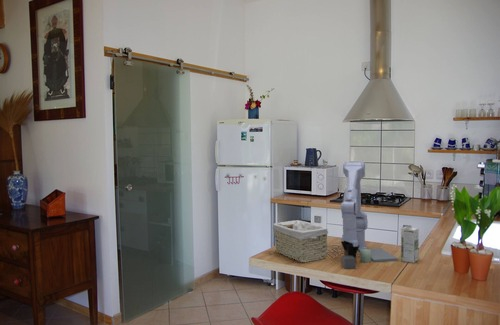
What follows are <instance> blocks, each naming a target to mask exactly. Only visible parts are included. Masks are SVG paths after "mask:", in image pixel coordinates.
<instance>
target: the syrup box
mask: <svg viewBox="0 0 500 325" xmlns="http://www.w3.org/2000/svg"><path fill="white" fill-rule="evenodd" d="M400 230H401V233H400V234H401V237H400V238H401V240H400V241H401V242H400V247H401V250H400V254H401V255H400V260H401V262H406V263H413V264H415V263H416V262H417V261H419V244H420V243H419V241H420V240H419V238H420V237H419V227H415V226H404V227H403V228H401V229H400Z"/></svg>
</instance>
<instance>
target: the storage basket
mask: <svg viewBox="0 0 500 325" xmlns="http://www.w3.org/2000/svg"><path fill="white" fill-rule="evenodd" d="M290 227H292V228H290ZM272 229H273V234H274V240H275V241H274V242H275V249H276V250H275V251H276V253H278V252H279V253H278V254H280V253H281V254H280V255H282V254H283V255H282V256H285V257H287V256H288V257H287V258H289V259H291V258H293V259H292V260H294V259H295V260H294V261H297V262H298V263H299V262H300V263H302V262H305V263H310V262H315V261H320V260H324V259H326V258H327V246H328V234H329V230H328V228H327V227H325V226H322V225H320V224H315V223H312V222H308V221H304V220H299V219H296V220H290V221H289V220H287V221H281V222H280V221H279V222H275V223H273V225H272ZM314 260H315V261H314ZM309 261H310V262H309Z"/></svg>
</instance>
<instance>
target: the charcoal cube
mask: <svg viewBox="0 0 500 325" xmlns="http://www.w3.org/2000/svg"><path fill="white" fill-rule="evenodd" d="M341 258H342V260H341V261H342V262H341V264H342V268H344V270H356V263H355V258H354V257H353V256H344V255H342V256H341Z"/></svg>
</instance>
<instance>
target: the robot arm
mask: <svg viewBox="0 0 500 325" xmlns="http://www.w3.org/2000/svg"><path fill="white" fill-rule="evenodd" d="M342 173H343V174H344V176H345V177H346V178H347V187H345V189H344V192H343V201H342V202H341V204H340V205H341V206H340V210H341V219H342V236H341V238H340V243H341V246H342V247H343V251H344V250H348V255H349V256H353V257H354V258H355V257H356V258H357V252H358V251H359V249H369V247H368V246H366V236H365V231H366V230H367V229H368V225H369V224H368V223H369V222H368V215H367V213H366V212H365V211H363V210H362V203H361V202H362V197H361V196H362V195H361V192H362V189H361V181H362V179H363V178H365V176H366V163H365V162H364V161H348V162H347V161H344V162H343V164H342Z"/></svg>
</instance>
